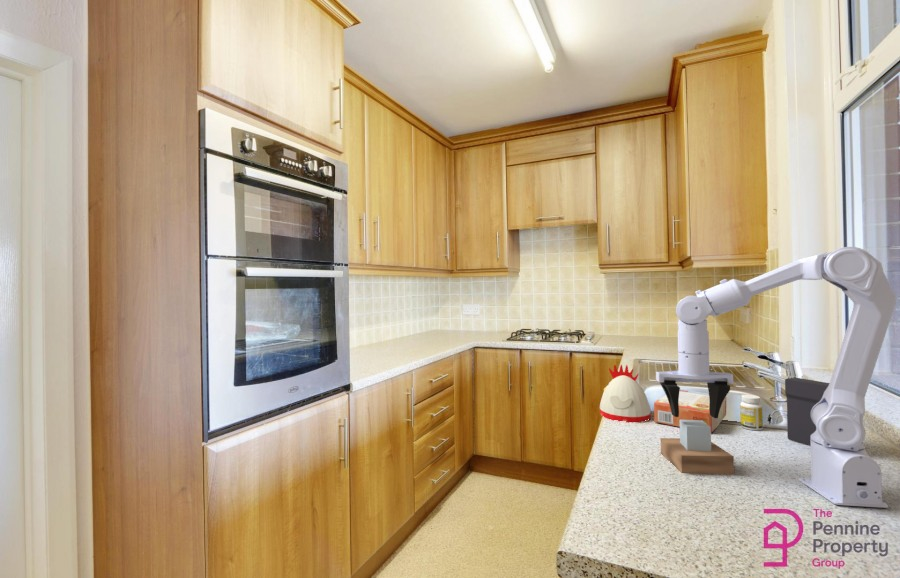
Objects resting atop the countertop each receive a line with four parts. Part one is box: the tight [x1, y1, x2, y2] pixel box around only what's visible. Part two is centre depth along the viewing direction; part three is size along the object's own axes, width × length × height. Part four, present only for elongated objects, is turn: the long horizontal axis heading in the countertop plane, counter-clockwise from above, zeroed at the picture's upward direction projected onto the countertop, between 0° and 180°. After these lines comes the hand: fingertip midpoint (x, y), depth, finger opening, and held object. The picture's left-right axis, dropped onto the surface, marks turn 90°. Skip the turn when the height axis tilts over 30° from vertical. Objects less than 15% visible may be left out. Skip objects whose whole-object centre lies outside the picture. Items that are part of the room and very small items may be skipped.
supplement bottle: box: [739, 394, 764, 431], centre depth 110 cm, size 5×5×8 cm
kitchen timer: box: [599, 364, 652, 423], centre depth 123 cm, size 14×14×15 cm
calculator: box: [784, 377, 830, 447], centre depth 97 cm, size 11×4×15 cm, turn 22°
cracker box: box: [653, 388, 727, 434], centre depth 118 cm, size 14×6×21 cm
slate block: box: [679, 420, 712, 451], centre depth 88 cm, size 4×4×5 cm
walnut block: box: [660, 437, 735, 475], centre depth 88 cm, size 10×10×4 cm
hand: (694, 416), depth 88 cm, fingers open, 7 cm apart
